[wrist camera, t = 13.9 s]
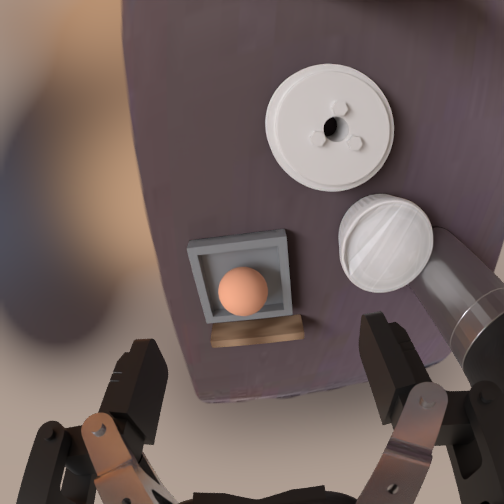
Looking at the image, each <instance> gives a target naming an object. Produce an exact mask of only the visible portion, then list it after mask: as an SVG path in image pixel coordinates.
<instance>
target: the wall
mask: <svg viewBox="0 0 504 504" xmlns="http://www.w3.org/2000/svg"><path fill="white" fill-rule="evenodd" d="M297 339H304V329H303V324H302V319H301V315H292V316H284V317H276V318H267V319H257V320H248V321H237V322H226V323H215V324H213V326H212V334H211V345H212V348H215V347H229V346H241V345H252V344H262V343H272V342H280V341H289V340H297Z"/></svg>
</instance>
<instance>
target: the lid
mask: <svg viewBox="0 0 504 504" xmlns="http://www.w3.org/2000/svg"><path fill="white" fill-rule="evenodd" d="M331 117H334V118H335V119H336V121H337V129H336V131H335V133H334V134H332V135H330V136H325V134H324V130H323V128H324V124H325V122H326V121H327V120H328V119H329V118H331ZM265 125H266V134H267V139H268V142H269V145H270V148H271V150H272V153H273V155H274V157H275V158H276V160H277V162H278V163H279V165H280V166H281V167H282V168H283V169H284V171H285V172H286V173H287V174H289V175H290V176H291V177H292V178H293V179H295V180H296V181H298V182H299V183H301V184H303V185H305V186H307V187H310V188H313V189H317V190H321V191H342V190H348V189H351V188H354V187H356V186H358V185H360V184H363V183H364V182H366V181H367V180H369V179H370V178H371V177H372V176H374V175H375V174H376V173H377V172H378V171H379V169H380V168H381V167H382V166H383V164H384V162H385V161H386V159H387V157H388V155H389V153H390V150H391V147H392V143H393V137H394V122H393V116H392V112H391V108H390V106H389V103H388V101H387V99H386V97H385V96H384V94H383V93H382V91H381V90H380V89H379V87H378V86H377V85H376V84H375V83H374V82H373V81H372V80H371V79H369V78H368V77H367V76H366V75H364V74H362V73H361V72H359V71H357V70H355V69H352V68H350V67H347V66H342V65H337V64H320V65H315V66H311V67H308V68H305V69H303V70H301V71H299V72H297V73H295V74H293V75H292V76H290V77H289V78H287V79H286V80H285V81H284V82H283V83H282V84H281V85H280V86H279V87H278V88H277V90H276V91H275V93H274V94H273V96H272V98H271V100H270V102H269V105H268V108H267V113H266V121H265Z"/></svg>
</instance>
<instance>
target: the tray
mask: <svg viewBox="0 0 504 504" xmlns="http://www.w3.org/2000/svg"><path fill="white" fill-rule="evenodd" d="M187 252H188V256H189V260H190V263H191V267H192V271H193V275H194V279H195V282H196V286H197V290H198V294H199V297H200V301H201V304H202V308H203V311H204V315H205V318H206V322H207V323H218V322H230V321H240V320H250V319H260V318H269V317H278V316H286V315H292V300H291V286H290V273H289V261H288V249H287V237H286V233H285V229H278V230H270V231H261V232H253V233H245V234H237V235H228V236H220V237H213V238H205V239H197V240H190V241H189V244H188V246H187ZM237 267H249V268H252V269H254V270H256V271H258V272H259V273H260V274H261V275H262V276H263V277H264V279H265V281H266V283H267V287H268V296H267V300H266V302H265V304H264V306H263V307H262V308H261V309H260V310H259V311H258V312H256V313H254V314H252V315H249V316H238V315H234V314H232V313H230V312H229V311H227V310H226V309H225V308H224V306H223V305H222V303H221V301H220V299H219V294H218V289H219V284H220V281H221V279H222V278H223V276H224V275H225V274H226V273H227V272H228V271H230V270H232V269H234V268H237Z"/></svg>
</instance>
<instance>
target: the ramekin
mask: <svg viewBox="0 0 504 504" xmlns="http://www.w3.org/2000/svg"><path fill="white" fill-rule="evenodd" d="M339 248H340V249H339V253H340V261H341V265H342V267H343V270H344V272H345V274H346V275H347V277H348V278H349V279H350V281H351V282H353V283H354V284H355V285H356V286H358V287H359V288H361V289H363V290H366V291H369V292H377V293H381V292H390V291H394V290H396V289H399V288H401V287H403V286H405V285H407V284H408V283H410V282H411V281H412V280H413V279H415V278H416V277H417V276H418V275H419V273H420V272H421V271H422V270H423V268H424V267H425V265H426V264H427V262H428V260H429V258H430V255H431V253H432V248H433V230H432V226H431V223H430V221H429V219H428V217H427V215H426V214H425V213H424V212H423V210H422V209H421V208H419V207H418V206H417V205H416V204H414V203H413V202H411V201H409V200H407V199H403V198H399V197H395V196H392V195H388V194H374V195H369V196H366V197H364V198H362V199H360V200H359V201H357V202H356V203H355V204H353V205H352V206H351V207H350V208H349V209H348V211H347V212H346V214H345V215H344V217H343V219H342V222H341V224H340V228H339Z"/></svg>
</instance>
